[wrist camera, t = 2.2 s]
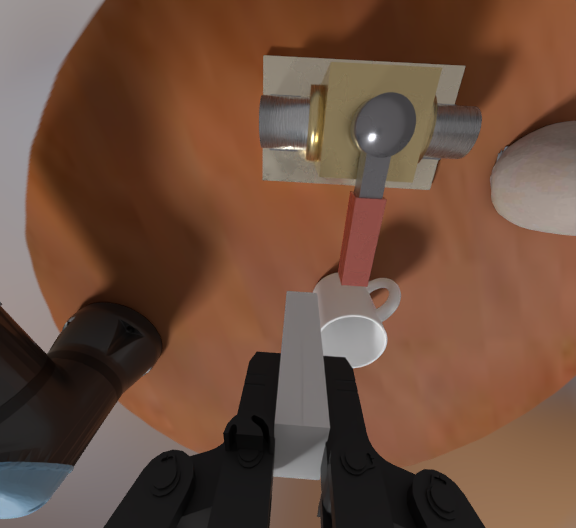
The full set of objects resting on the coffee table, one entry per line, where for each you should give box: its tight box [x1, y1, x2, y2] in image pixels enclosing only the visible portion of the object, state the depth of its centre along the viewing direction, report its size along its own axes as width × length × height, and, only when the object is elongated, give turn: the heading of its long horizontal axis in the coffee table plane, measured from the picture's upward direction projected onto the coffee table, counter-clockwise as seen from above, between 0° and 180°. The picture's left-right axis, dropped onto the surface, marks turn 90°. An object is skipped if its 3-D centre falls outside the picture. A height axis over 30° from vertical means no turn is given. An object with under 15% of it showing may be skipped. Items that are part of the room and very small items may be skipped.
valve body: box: [259, 55, 482, 190], centre depth 25 cm, size 20×12×10 cm, turn 87°
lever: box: [338, 92, 416, 287], centre depth 22 cm, size 15×4×3 cm, turn 177°
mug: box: [313, 273, 401, 368], centre depth 34 cm, size 12×8×10 cm
